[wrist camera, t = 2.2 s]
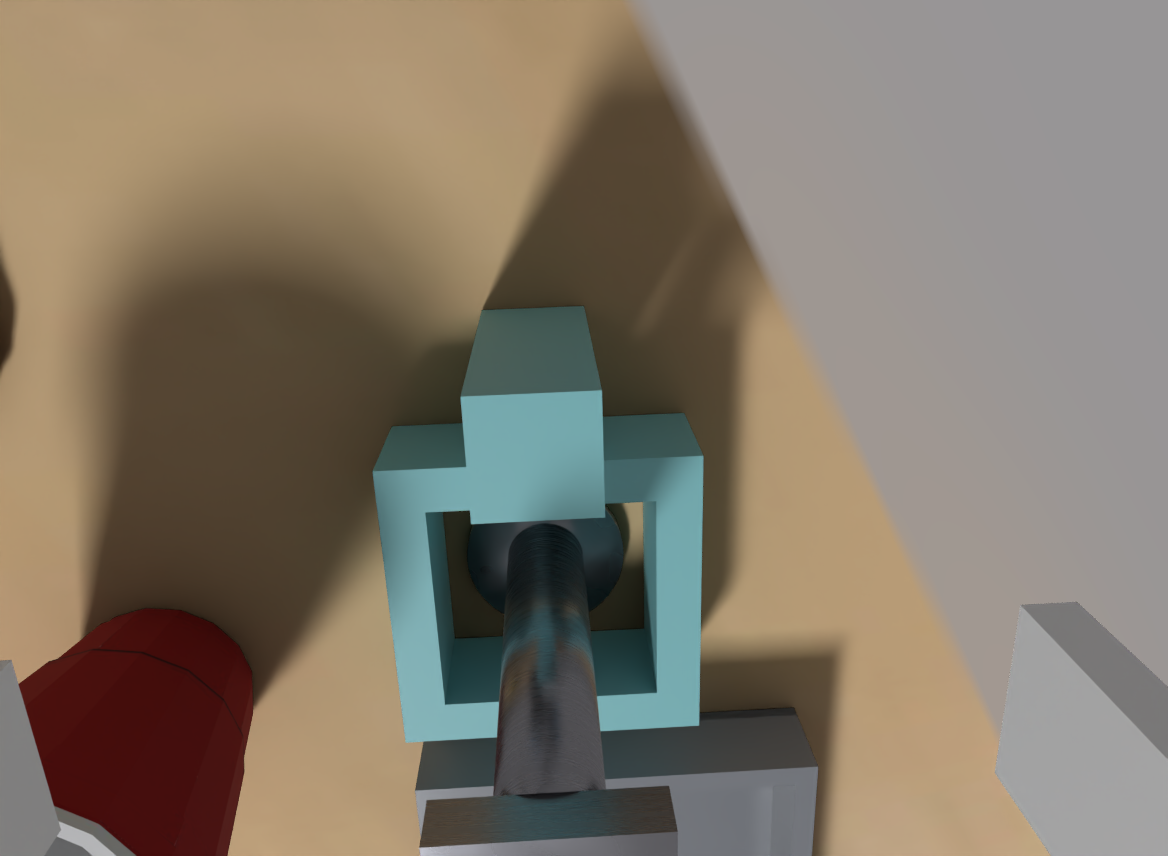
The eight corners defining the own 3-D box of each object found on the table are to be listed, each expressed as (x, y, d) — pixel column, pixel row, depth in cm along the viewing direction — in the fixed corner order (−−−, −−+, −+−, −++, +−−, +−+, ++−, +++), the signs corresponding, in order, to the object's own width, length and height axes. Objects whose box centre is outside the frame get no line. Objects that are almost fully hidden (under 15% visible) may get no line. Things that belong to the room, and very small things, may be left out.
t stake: (462, 482, 29) (405, 783, 16) (620, 475, 29) (683, 766, 16) (474, 619, 30) (431, 984, 18) (623, 611, 31) (682, 967, 18)
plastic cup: (201, 473, 28) (-21, 729, 17) (388, 723, 32) (308, 1071, 20) (-78, 622, 29) (-457, 951, 18) (132, 845, 33) (-76, 1237, 22)
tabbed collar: (379, 314, 27) (317, 402, 19) (684, 301, 27) (742, 384, 19) (419, 673, 31) (382, 859, 24) (682, 658, 31) (727, 838, 24)
